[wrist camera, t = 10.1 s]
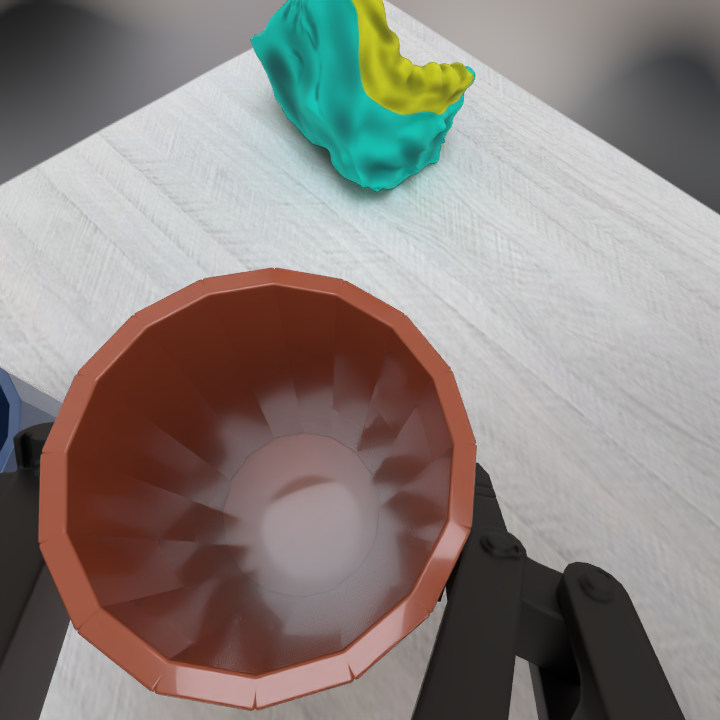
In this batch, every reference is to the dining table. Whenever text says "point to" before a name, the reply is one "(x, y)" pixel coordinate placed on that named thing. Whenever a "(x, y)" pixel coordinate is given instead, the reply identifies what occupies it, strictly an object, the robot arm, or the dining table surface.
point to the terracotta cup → (256, 488)
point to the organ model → (359, 89)
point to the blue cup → (21, 412)
